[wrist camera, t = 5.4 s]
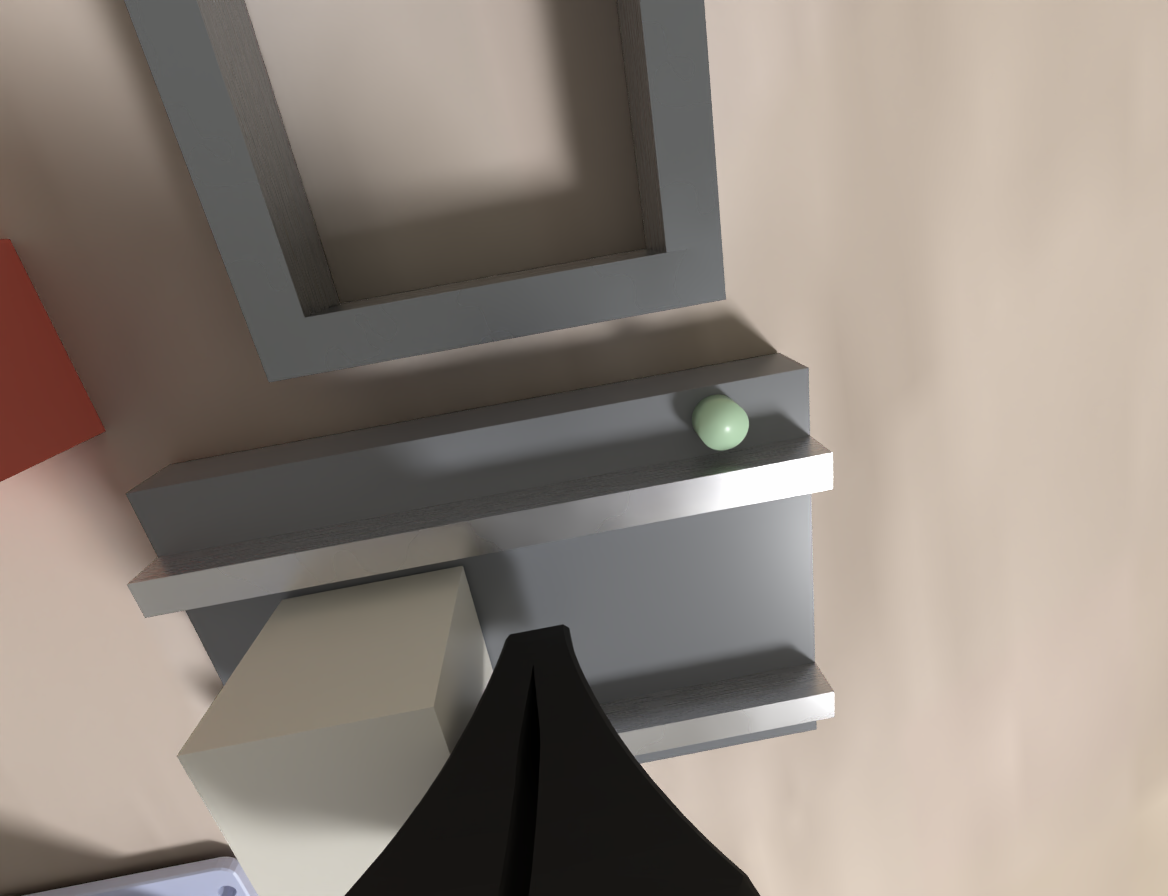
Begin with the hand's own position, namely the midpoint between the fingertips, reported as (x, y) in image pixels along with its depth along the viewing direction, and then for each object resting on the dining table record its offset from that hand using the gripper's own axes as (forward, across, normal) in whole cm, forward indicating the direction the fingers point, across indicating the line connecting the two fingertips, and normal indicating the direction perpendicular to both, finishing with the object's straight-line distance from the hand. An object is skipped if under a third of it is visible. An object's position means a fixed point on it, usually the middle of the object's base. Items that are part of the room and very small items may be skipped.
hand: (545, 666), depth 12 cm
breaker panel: (+3, +1, 0) cm, 3 cm away
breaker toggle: (+1, +3, 0) cm, 4 cm away
